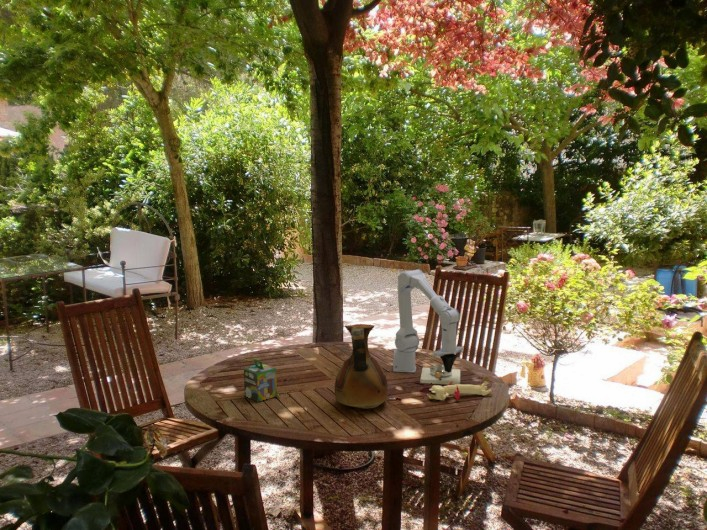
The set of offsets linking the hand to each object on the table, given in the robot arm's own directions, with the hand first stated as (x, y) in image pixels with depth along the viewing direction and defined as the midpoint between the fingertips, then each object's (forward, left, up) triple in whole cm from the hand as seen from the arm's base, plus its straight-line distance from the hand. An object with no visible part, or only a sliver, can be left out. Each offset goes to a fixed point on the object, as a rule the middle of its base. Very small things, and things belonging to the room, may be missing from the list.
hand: (447, 371), depth 245 cm
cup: (-18, +39, -5) cm, 43 cm away
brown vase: (-31, -29, -5) cm, 43 cm away
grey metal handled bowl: (-3, +3, -3) cm, 5 cm away
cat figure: (+5, -15, -6) cm, 16 cm away
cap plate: (-3, +7, -5) cm, 9 cm away
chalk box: (-70, -28, -5) cm, 76 cm away
